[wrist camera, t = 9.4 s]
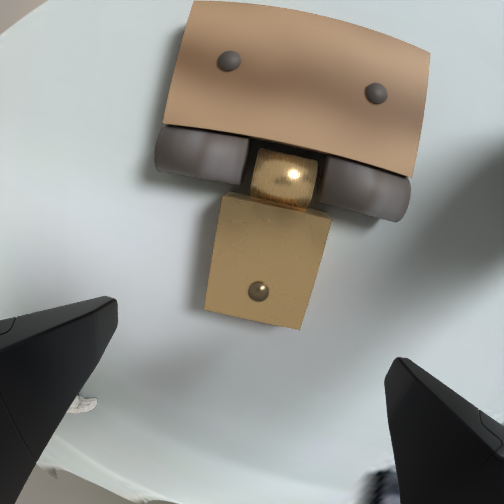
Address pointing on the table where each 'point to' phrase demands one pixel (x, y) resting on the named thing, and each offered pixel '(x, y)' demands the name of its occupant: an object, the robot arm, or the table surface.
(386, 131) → the tan flat piece
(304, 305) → the tan knobbed block
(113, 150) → the table surface
